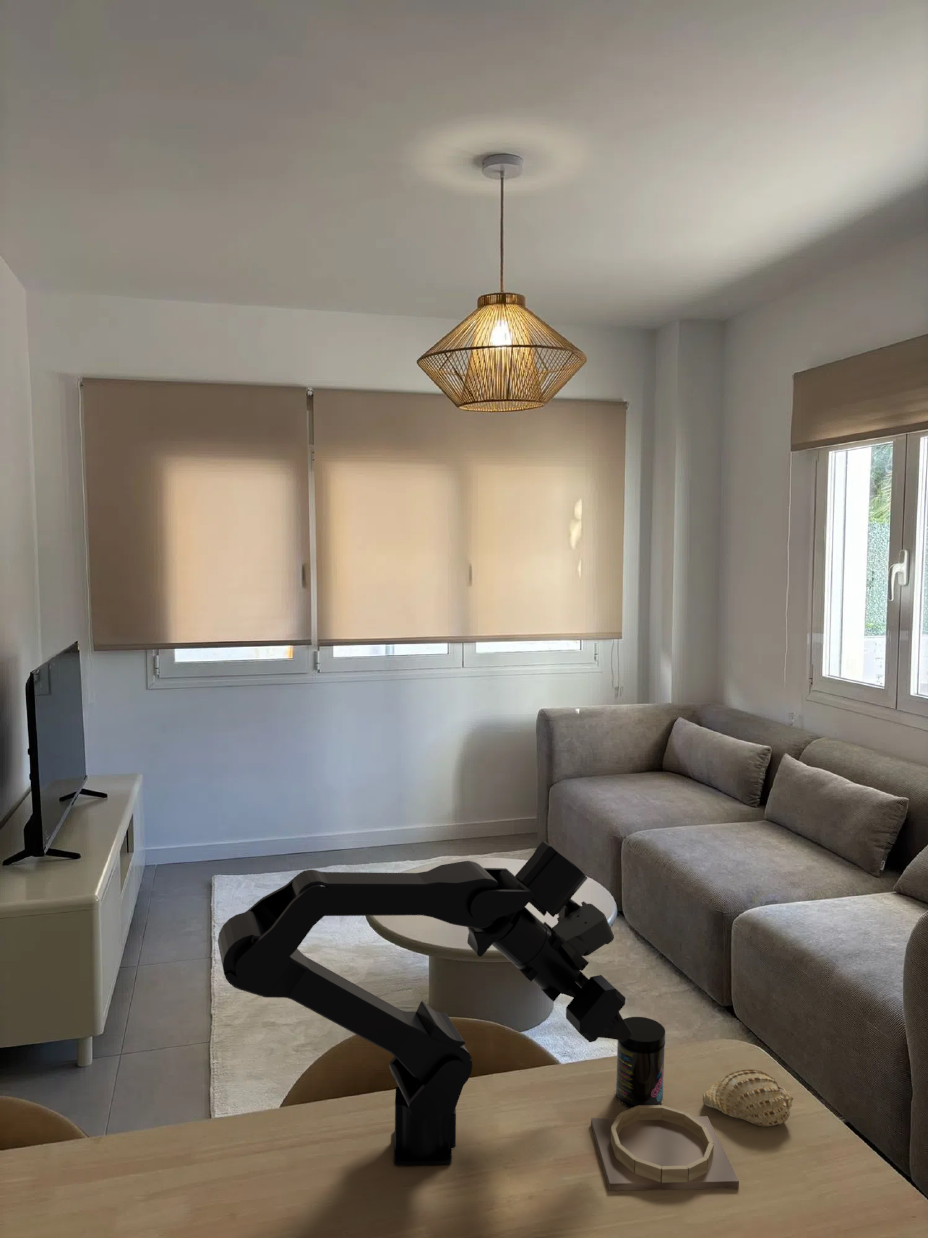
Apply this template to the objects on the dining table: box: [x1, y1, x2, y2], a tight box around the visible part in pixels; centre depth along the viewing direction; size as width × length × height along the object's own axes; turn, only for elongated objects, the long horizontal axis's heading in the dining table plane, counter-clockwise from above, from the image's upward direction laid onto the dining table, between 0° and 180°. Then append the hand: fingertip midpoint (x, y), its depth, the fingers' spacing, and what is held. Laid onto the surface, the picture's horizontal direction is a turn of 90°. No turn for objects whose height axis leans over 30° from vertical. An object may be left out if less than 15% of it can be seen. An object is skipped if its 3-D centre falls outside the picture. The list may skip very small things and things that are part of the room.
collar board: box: [590, 1104, 740, 1192], centre depth 103 cm, size 14×11×2 cm
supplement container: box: [615, 1016, 666, 1109], centre depth 113 cm, size 6×6×9 cm
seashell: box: [702, 1069, 794, 1128], centre depth 110 cm, size 8×6×10 cm
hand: (609, 1017), depth 111 cm, fingers open, 9 cm apart
